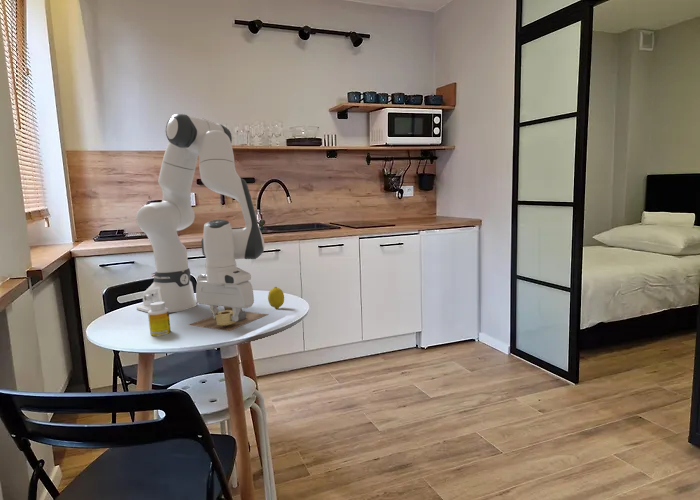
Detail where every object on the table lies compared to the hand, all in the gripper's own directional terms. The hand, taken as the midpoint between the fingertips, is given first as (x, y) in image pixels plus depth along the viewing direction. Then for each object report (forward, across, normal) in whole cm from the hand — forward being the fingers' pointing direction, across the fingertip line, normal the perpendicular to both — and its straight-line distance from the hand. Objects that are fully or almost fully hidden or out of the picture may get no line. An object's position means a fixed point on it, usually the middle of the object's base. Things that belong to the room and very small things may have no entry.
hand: (226, 320), depth 138 cm
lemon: (+3, 0, +25) cm, 25 cm away
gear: (+1, 0, 0) cm, 1 cm away
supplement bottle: (+3, -14, -12) cm, 19 cm away
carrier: (+3, -4, +6) cm, 8 cm away
